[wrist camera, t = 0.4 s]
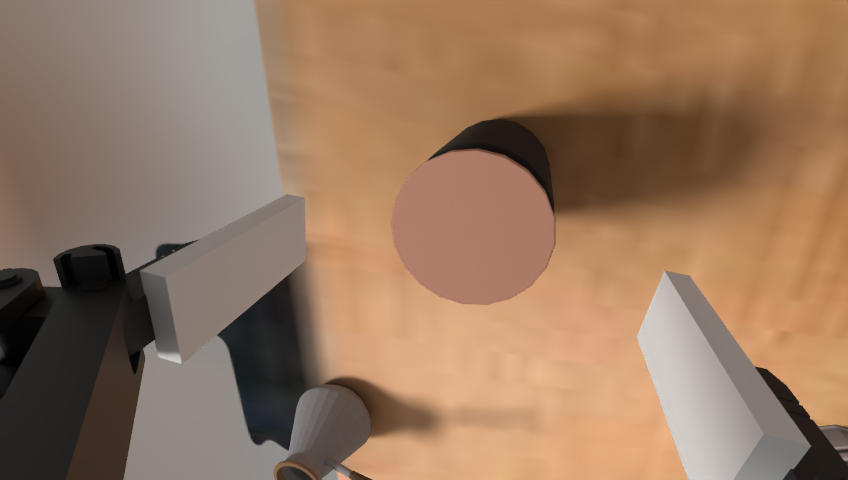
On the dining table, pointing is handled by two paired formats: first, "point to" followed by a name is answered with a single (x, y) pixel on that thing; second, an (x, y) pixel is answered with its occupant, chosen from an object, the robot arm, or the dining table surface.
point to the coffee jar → (478, 215)
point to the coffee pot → (325, 434)
